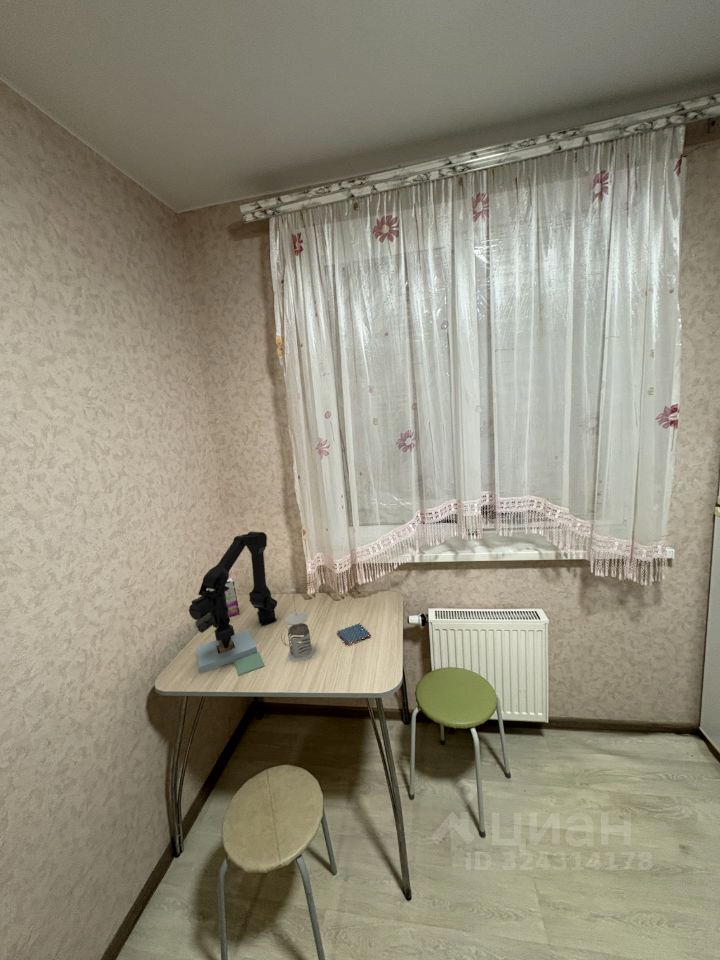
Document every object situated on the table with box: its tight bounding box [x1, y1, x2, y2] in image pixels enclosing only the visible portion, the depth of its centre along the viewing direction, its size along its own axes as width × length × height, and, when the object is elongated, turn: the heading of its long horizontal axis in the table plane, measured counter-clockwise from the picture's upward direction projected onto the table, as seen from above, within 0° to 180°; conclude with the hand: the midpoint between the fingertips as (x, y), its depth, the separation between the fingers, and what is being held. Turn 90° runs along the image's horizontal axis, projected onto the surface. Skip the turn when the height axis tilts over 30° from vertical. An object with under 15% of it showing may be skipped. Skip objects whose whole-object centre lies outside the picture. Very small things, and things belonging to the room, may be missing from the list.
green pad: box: [233, 651, 265, 677], centre depth 135 cm, size 9×9×1 cm
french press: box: [280, 588, 316, 662], centre depth 136 cm, size 10×12×25 cm
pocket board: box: [195, 629, 258, 674], centre depth 143 cm, size 20×14×2 cm
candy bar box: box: [207, 576, 240, 618], centre depth 170 cm, size 11×5×16 cm, turn 118°
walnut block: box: [218, 639, 234, 654], centre depth 142 cm, size 4×4×9 cm
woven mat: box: [336, 622, 372, 646], centre depth 146 cm, size 10×11×2 cm
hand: (225, 644), depth 142 cm, fingers open, 5 cm apart
